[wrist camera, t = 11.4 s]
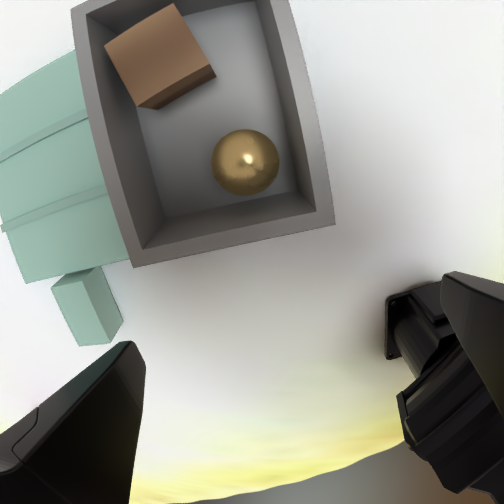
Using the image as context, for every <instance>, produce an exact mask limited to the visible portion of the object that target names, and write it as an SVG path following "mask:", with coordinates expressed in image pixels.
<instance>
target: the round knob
mask: <svg viewBox="0 0 504 504" xmlns="http://www.w3.org/2000/svg"><path fill="white" fill-rule="evenodd" d="M279 165H280V160H279V154H278V151H277V148H276V146H275V145H274V143H273V142H272V141H271V140H270V139H269V138H268V137H267V136H266V135H264V134H263V133H261V132H258V131H256V130H252V129H240V130H236V131H233V132H230V133H228V134H227V135H225V136H224V137H223V138H222V139H221V140H220V141H219V142H218V143H217V145H216V146H215V148H214V151H213V153H212V158H211V167H212V171H213V174H214V177H215V179H216V180H217V182H218V183H219V184H220V185H221V186H222V187H223V188H224V189H226V190H227V191H229V192H231V193H233V194H236V195H242V196H249V195H254V194H257V193H260V192H262V191H264V190H265V189H266V188H268V187H269V186H270V185H271V184H272V183H273V181H274V180H275V178H276V176H277V174H278V170H279Z"/></svg>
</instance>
